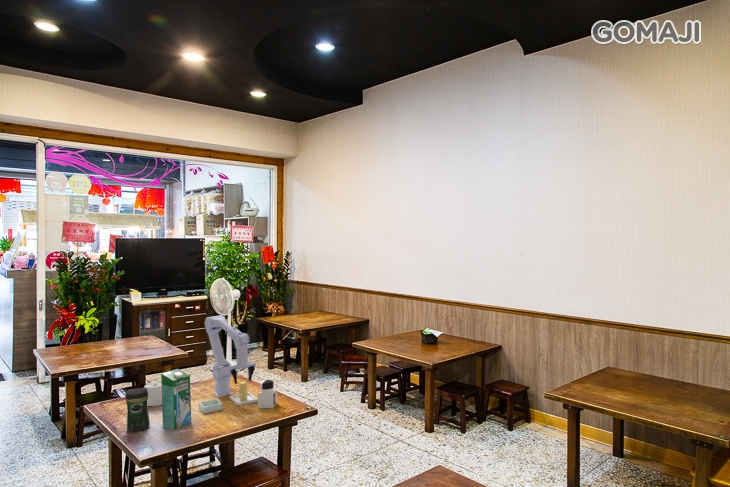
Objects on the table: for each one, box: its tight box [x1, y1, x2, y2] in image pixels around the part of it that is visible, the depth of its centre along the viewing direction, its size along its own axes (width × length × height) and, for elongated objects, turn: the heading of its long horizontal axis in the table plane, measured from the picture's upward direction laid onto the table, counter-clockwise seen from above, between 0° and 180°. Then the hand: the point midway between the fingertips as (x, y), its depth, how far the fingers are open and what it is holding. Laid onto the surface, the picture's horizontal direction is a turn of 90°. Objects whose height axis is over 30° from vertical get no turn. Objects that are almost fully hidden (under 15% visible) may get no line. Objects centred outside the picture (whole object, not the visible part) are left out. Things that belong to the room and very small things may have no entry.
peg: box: [238, 381, 248, 401], centre depth 252 cm, size 4×4×9 cm
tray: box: [228, 391, 258, 407], centre depth 252 cm, size 14×11×2 cm
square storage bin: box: [197, 397, 224, 414], centre depth 240 cm, size 10×10×4 cm
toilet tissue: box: [143, 380, 162, 407], centre depth 252 cm, size 11×12×10 cm
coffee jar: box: [125, 387, 151, 432], centre depth 218 cm, size 10×8×19 cm
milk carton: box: [160, 368, 192, 431], centre depth 221 cm, size 9×9×25 cm
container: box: [257, 379, 278, 409], centre depth 244 cm, size 8×8×13 cm
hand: (242, 382), depth 252 cm, fingers open, 7 cm apart
